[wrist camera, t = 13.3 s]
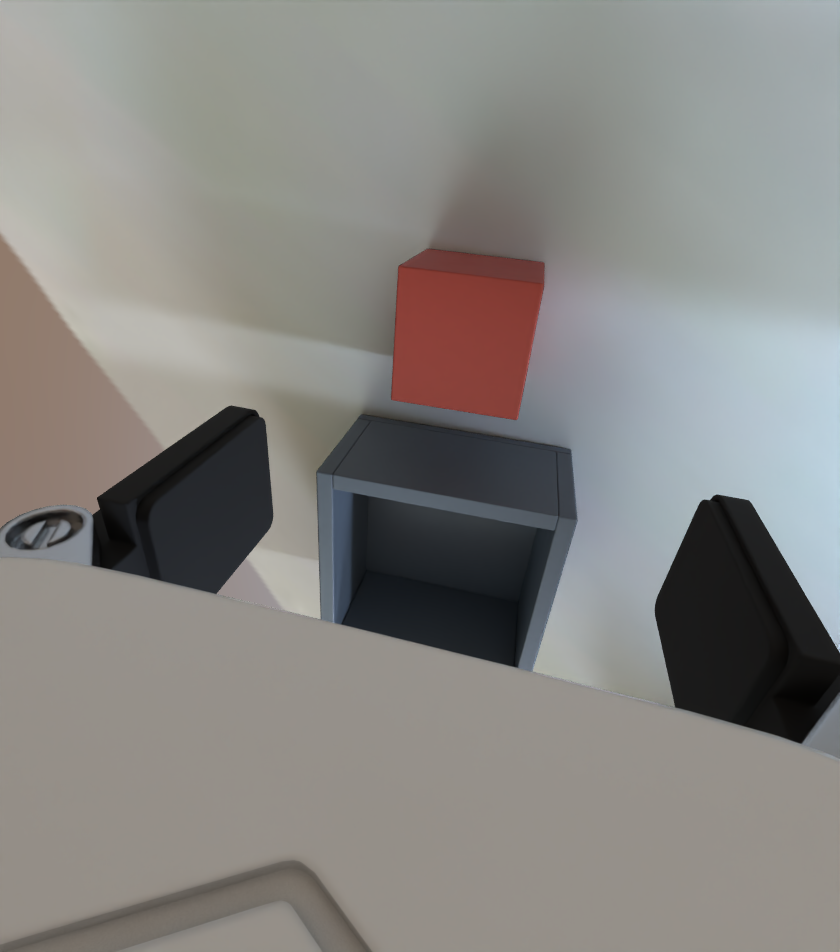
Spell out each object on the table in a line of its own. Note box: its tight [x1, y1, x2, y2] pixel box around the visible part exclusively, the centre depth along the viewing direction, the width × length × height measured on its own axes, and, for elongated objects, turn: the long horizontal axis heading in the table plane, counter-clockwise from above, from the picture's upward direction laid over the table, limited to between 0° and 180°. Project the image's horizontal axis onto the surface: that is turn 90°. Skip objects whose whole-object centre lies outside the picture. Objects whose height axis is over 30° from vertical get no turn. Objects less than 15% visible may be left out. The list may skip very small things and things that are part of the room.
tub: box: [316, 415, 578, 671], centre depth 28 cm, size 12×12×7 cm
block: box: [391, 249, 545, 420], centre depth 22 cm, size 5×5×5 cm
